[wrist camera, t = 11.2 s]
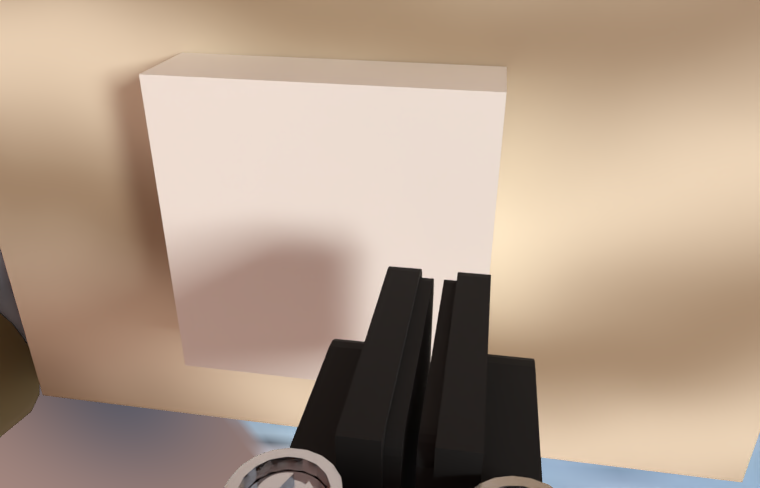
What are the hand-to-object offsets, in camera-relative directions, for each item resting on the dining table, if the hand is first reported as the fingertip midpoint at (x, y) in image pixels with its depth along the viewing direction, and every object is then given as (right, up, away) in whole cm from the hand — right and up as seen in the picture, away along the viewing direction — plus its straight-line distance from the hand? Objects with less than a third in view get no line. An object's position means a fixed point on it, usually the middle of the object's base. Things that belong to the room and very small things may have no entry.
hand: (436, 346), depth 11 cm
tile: (+1, +2, +3) cm, 4 cm away
